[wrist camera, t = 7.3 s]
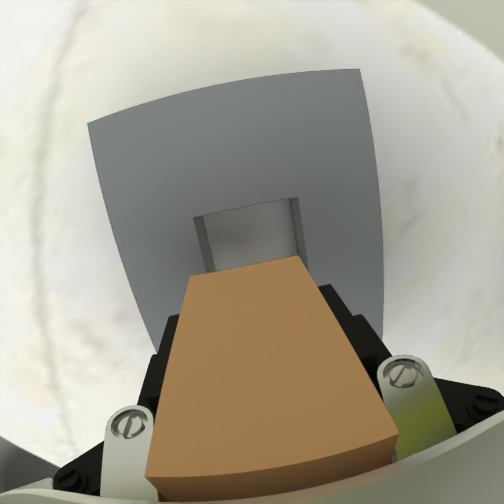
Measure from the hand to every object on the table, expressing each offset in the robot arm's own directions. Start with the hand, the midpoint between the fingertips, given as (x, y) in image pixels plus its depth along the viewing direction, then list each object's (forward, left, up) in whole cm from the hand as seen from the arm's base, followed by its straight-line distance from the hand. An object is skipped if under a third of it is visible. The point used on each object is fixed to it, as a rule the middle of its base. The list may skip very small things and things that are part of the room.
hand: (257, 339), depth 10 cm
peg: (0, 0, -2) cm, 2 cm away
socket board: (0, 0, -12) cm, 12 cm away
